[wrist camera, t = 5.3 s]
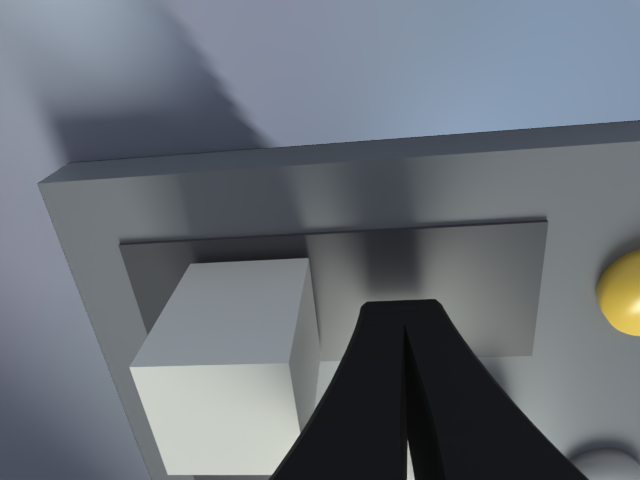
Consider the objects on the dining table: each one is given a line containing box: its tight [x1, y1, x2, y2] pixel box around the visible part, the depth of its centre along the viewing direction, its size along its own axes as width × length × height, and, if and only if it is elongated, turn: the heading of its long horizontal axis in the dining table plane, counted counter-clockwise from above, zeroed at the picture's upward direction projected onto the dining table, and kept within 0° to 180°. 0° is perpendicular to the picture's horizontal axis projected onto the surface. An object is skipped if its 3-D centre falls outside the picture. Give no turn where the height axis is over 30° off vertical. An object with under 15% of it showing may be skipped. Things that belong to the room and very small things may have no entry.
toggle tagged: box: [129, 258, 321, 475], centre depth 9 cm, size 2×2×3 cm
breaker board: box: [38, 120, 640, 480], centre depth 12 cm, size 13×11×2 cm
